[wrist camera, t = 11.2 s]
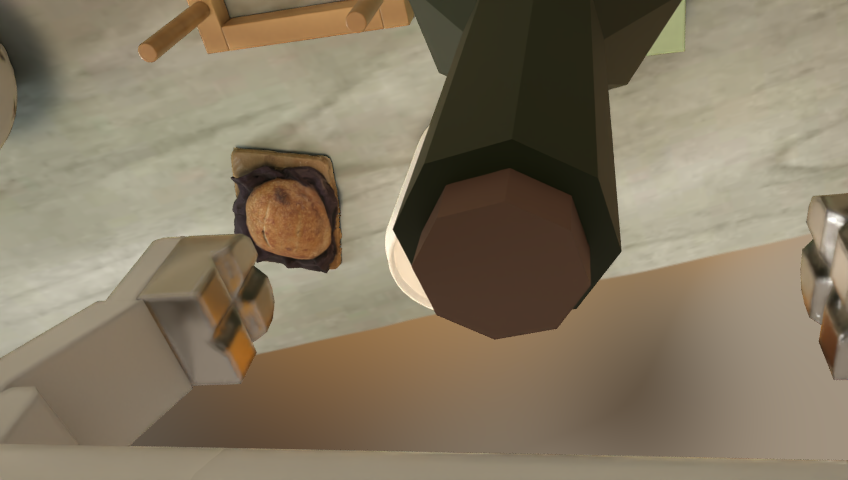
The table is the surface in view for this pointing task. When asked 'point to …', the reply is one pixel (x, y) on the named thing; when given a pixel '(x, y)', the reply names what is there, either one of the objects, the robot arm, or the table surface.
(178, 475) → the robot arm
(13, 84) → the teacup
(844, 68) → the table surface
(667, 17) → the wine bottle
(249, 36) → the dish rack
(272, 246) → the bread roll
